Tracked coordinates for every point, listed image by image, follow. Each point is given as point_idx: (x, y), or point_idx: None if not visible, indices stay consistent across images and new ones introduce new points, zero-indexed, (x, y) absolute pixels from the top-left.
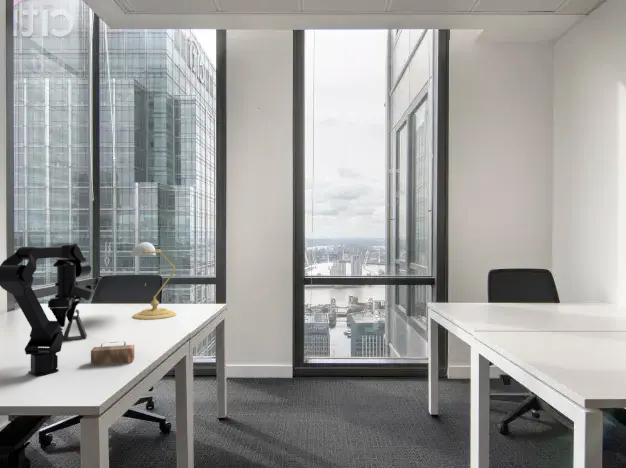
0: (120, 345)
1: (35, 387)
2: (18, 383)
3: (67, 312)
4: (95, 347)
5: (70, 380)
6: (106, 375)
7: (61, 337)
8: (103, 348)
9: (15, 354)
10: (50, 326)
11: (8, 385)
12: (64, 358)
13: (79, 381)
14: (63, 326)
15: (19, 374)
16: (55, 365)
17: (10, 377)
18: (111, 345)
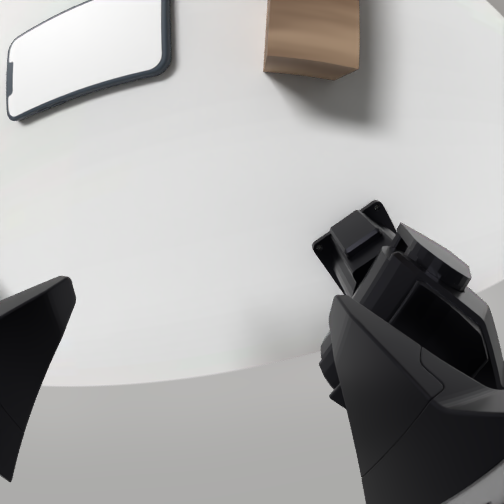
0: (57, 27)
1: (485, 236)
2: None
3: (31, 368)
4: (278, 47)
5: (478, 150)
6: (464, 46)
7: (434, 251)
8: (319, 8)
9: (100, 369)
10: (497, 349)
11: None
12: (164, 218)
13: (491, 126)
14: (348, 299)
15: None
16: (371, 219)
17: None
18: (45, 65)
